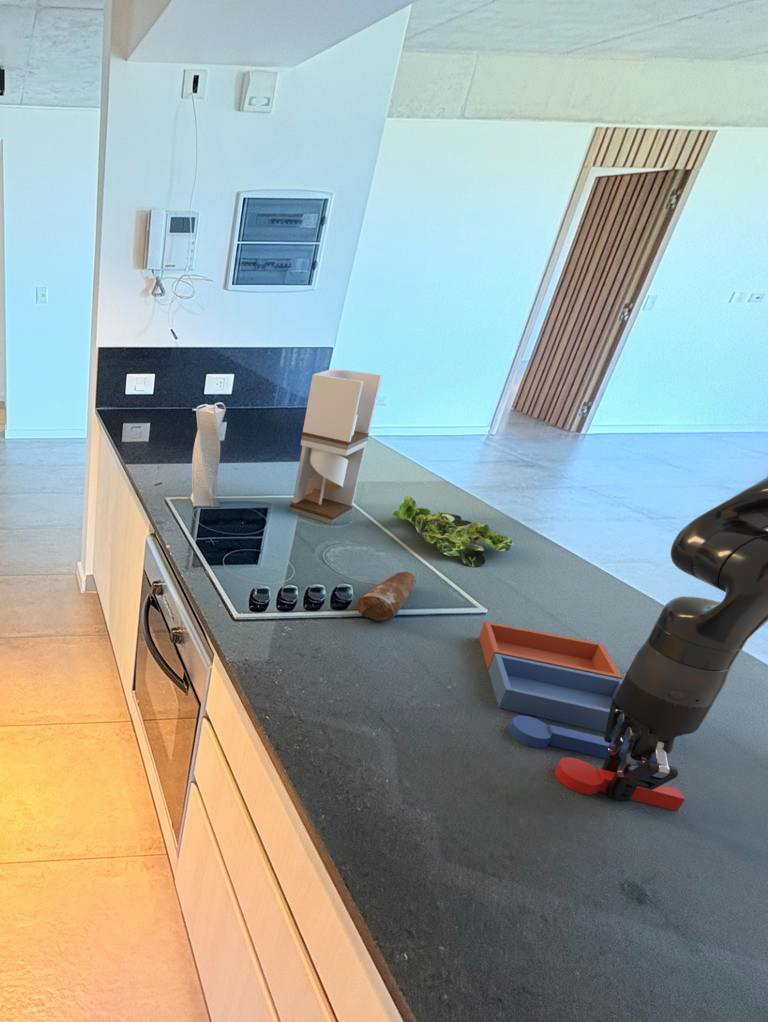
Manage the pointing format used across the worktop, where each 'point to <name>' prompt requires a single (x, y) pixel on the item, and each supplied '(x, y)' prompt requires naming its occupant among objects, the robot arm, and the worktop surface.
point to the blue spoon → (556, 737)
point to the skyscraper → (206, 456)
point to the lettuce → (453, 533)
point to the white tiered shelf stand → (334, 442)
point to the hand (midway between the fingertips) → (612, 788)
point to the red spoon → (593, 780)
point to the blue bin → (553, 691)
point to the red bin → (546, 649)
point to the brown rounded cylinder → (387, 597)
